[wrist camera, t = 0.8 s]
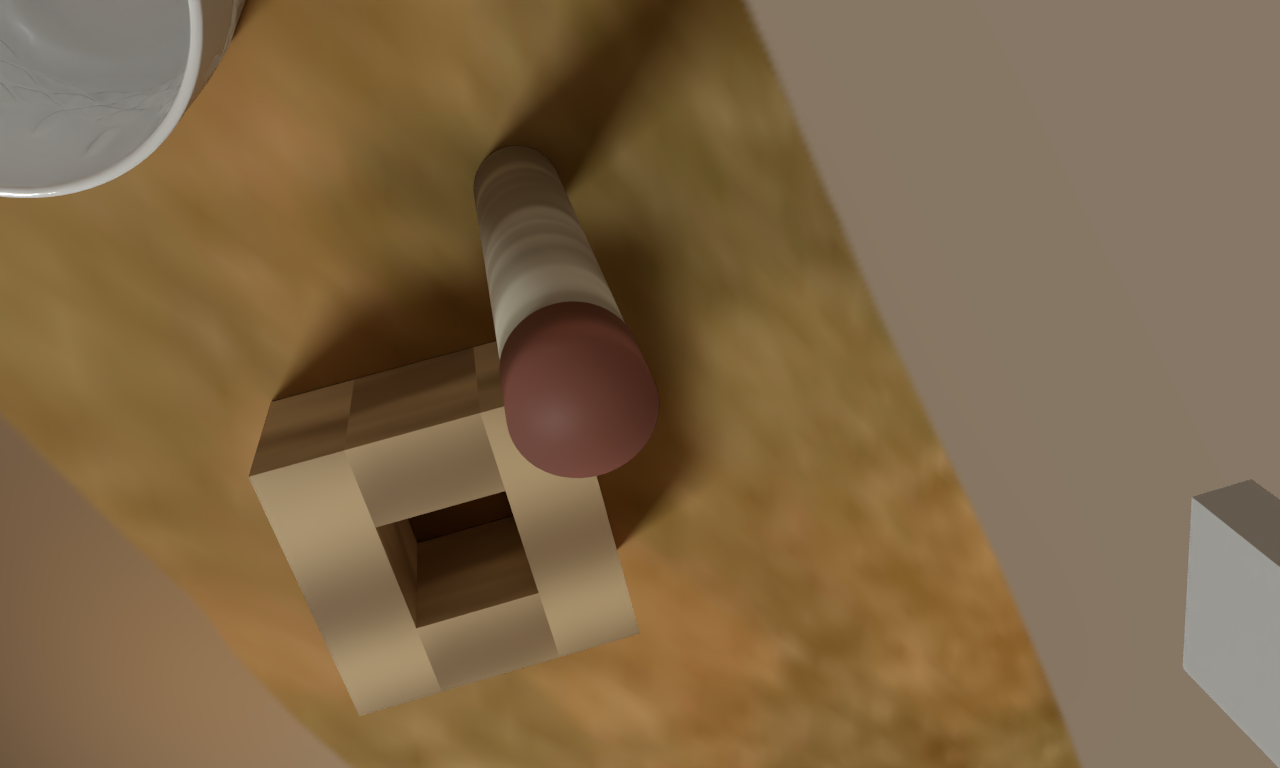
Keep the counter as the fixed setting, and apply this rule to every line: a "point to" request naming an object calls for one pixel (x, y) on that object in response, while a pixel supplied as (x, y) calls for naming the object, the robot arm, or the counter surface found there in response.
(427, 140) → the counter surface
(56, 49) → the white cup
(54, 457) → the counter surface
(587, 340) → the brown-tipped rod
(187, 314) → the counter surface
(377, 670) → the bead block
